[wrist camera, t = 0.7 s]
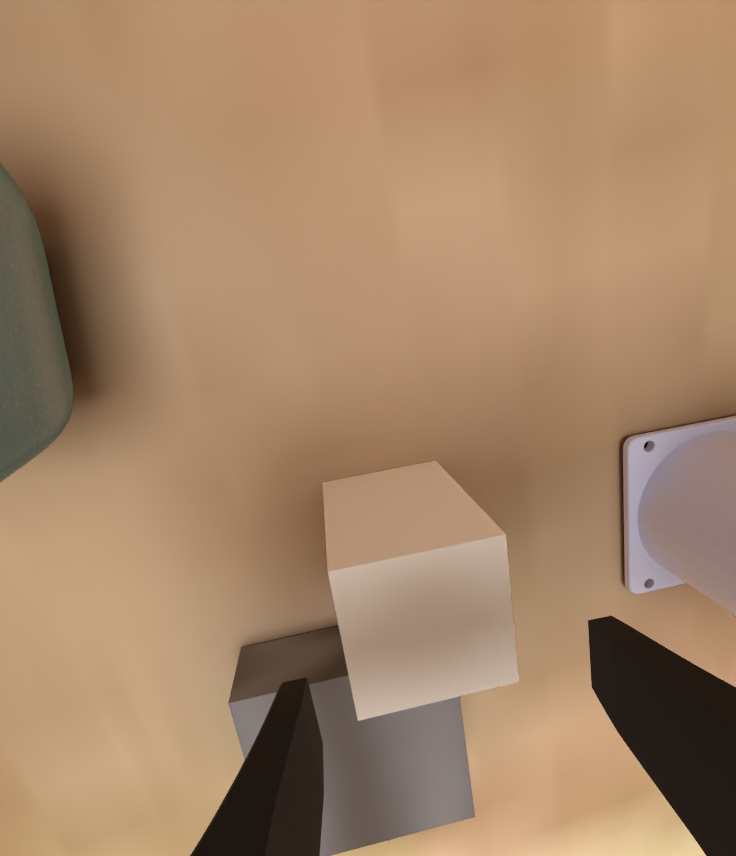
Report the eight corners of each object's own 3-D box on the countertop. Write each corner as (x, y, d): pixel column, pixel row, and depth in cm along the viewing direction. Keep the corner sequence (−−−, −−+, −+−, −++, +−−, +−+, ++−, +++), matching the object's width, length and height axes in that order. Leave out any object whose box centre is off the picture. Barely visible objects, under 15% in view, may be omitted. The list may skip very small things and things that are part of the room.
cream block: (435, 460, 19) (505, 534, 12) (448, 561, 20) (518, 682, 13) (322, 482, 18) (327, 571, 11) (342, 584, 19) (357, 720, 13)
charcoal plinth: (433, 604, 20) (453, 650, 17) (454, 753, 22) (475, 816, 19) (241, 647, 19) (228, 703, 16) (281, 797, 22) (276, 869, 19)
